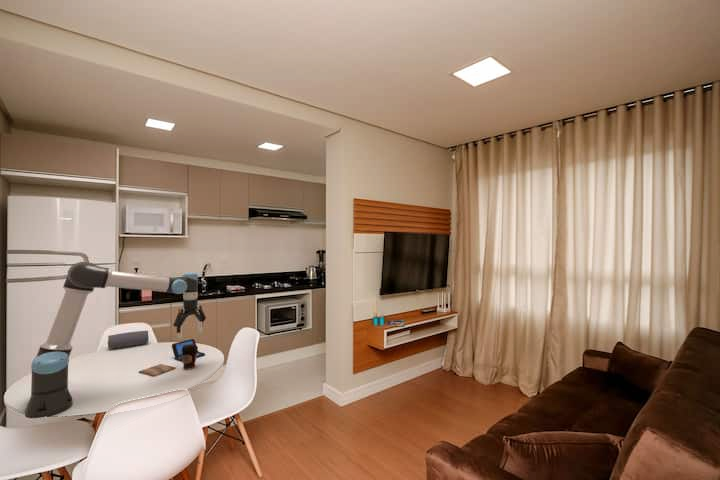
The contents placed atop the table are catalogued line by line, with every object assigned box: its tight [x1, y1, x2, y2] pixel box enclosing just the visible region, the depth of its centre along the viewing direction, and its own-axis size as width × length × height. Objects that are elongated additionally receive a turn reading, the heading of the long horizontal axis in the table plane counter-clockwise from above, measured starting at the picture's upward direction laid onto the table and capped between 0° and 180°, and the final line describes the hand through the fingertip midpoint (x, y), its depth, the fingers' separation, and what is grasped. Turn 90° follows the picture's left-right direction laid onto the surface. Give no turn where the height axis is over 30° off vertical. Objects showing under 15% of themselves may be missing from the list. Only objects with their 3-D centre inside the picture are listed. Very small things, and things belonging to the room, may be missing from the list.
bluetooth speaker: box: [107, 330, 150, 349], centre depth 232 cm, size 23×9×10 cm, turn 130°
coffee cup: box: [182, 343, 199, 370], centre depth 194 cm, size 9×8×13 cm
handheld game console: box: [171, 338, 206, 363], centre depth 213 cm, size 16×13×9 cm
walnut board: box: [138, 363, 177, 378], centre depth 189 cm, size 13×13×1 cm
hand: (190, 335), depth 195 cm, fingers open, 13 cm apart
